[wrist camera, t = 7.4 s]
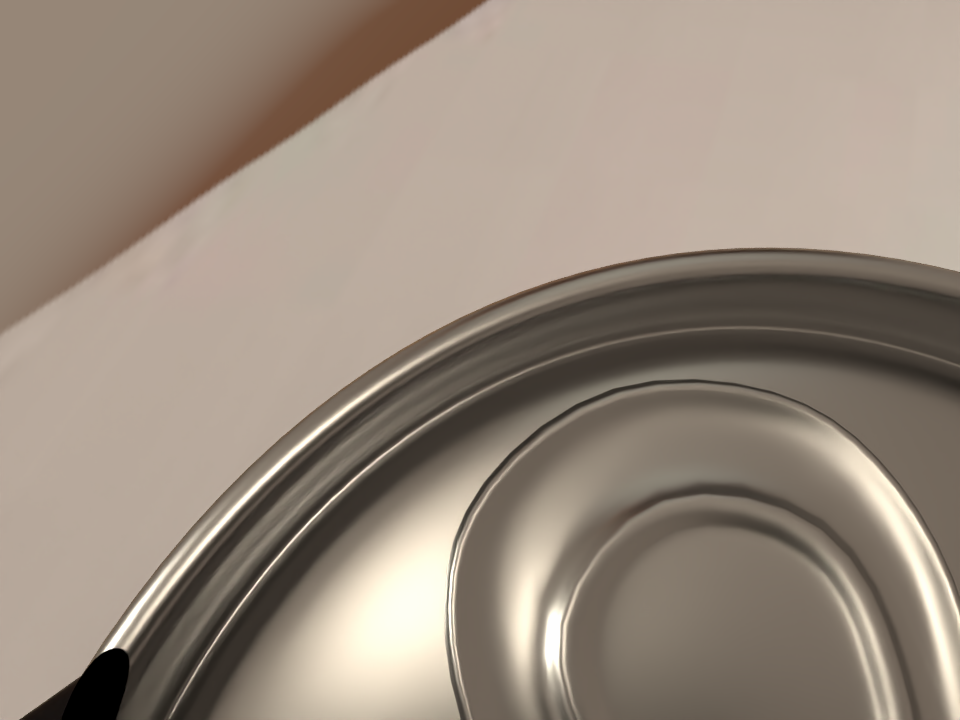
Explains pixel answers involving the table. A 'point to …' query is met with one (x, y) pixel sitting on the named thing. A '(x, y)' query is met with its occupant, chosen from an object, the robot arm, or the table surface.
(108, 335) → the table surface
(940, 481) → the can
